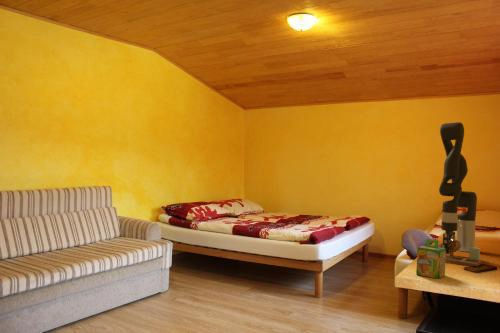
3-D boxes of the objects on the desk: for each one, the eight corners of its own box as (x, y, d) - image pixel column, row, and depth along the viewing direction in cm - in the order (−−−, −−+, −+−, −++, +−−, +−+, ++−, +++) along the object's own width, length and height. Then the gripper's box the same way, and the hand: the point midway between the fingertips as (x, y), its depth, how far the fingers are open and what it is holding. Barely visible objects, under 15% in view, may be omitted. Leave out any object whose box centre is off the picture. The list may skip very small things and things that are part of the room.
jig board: (434, 256, 218) (434, 253, 218) (482, 263, 204) (482, 260, 204) (426, 259, 208) (426, 256, 208) (476, 267, 194) (476, 263, 194)
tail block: (470, 259, 214) (471, 247, 214) (479, 260, 212) (480, 248, 212) (469, 260, 211) (469, 248, 211) (478, 261, 208) (478, 249, 208)
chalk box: (415, 275, 175) (416, 239, 175) (423, 271, 182) (423, 237, 182) (439, 279, 169) (440, 242, 169) (445, 275, 176) (446, 239, 176)
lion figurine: (463, 258, 216) (463, 240, 216) (457, 259, 213) (457, 241, 213) (436, 253, 228) (436, 236, 228) (430, 253, 225) (430, 237, 225)
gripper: (445, 219, 228) (445, 250, 227) (437, 221, 217) (437, 253, 216) (460, 221, 223) (460, 252, 223) (453, 222, 212) (452, 255, 212)
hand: (448, 252), depth 220 cm, fingers open, 8 cm apart
